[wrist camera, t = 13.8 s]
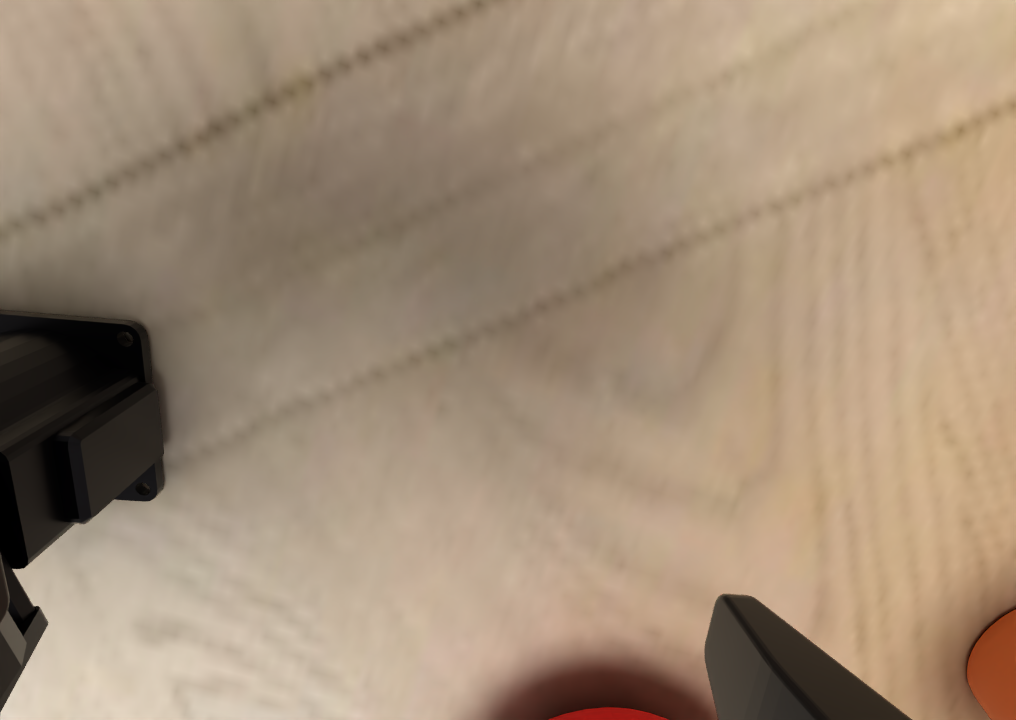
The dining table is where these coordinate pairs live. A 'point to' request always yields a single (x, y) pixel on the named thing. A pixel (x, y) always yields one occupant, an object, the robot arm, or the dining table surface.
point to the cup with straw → (995, 669)
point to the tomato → (608, 714)
